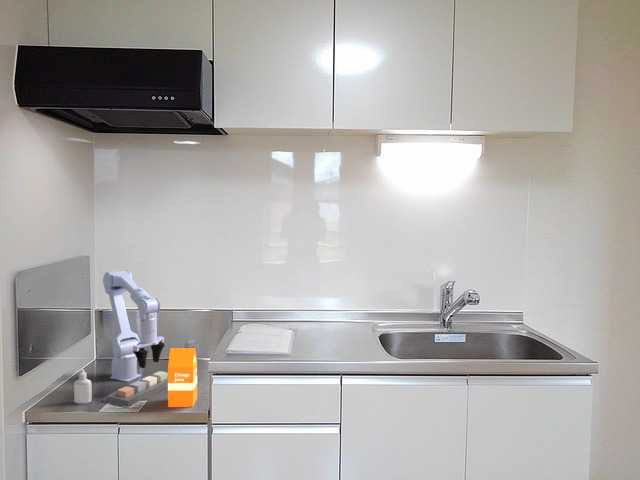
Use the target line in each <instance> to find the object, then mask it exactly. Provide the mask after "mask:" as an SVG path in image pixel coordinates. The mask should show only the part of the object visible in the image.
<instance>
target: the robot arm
mask: <svg viewBox="0 0 640 480" xmlns="http://www.w3.org/2000/svg"><path fill="white" fill-rule="evenodd" d="M134 281H135V280H133V273H132V272H131V271H130V270H129V269H125V270H115V271H106V272H104V274H103V278H102V283H103V287H104V291H105V293H106V294H107V295H108V296H109V302H110V305H111V310H112V315H113V319H114V323H115V328H116V332H117V335H116V336H115V337H114V338H113V339H112V342H111V343H112V354H113V355H114V357H112V361H111V376H110V377H109V378H110V379H113V380H116V381H121V382H127V383H128V382H131V381H133V380H136V379H138V378H140V377H142V374H140V373H138V366H139V368H142V369H145V368H146V365H147V364H146V363H147V355H148V353H149V350H145V348H149V347H150V350H151V352H152V362H153V363H159V361H160V358H161V353H162V351H163V349H164V347H165V343H164V342H165V337H164V336H161V335H159V336H158V334H157V333H158V313H159V311H160V310H161V304H160V300H159V299H158V298H157V297H153V296H152V297H151V295H150V294H149V293H147V291H146V290H145V289H144V288H143V287H138V285H137V284H136V283H135V282H134ZM125 292H128V293H129V296H130V299H131V301H133V302H134V304H135V305H136V306H137V311H138V315H139V319H140V338H139V336H138V334H137V333H136V332H134V331H132V330H131V327H130V326H131V325H130V322H129V318H128V313H127V309H126V304H125V299H124V293H125ZM137 365H138V366H137Z"/></svg>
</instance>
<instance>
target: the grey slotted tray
mask: <svg viewBox="0 0 640 480" xmlns="http://www.w3.org/2000/svg"><path fill="white" fill-rule="evenodd" d="M151 376H152V377H153V374H152V375H151ZM139 381H140V382H142V379H141V380H139ZM127 387H130V385H128V386H127ZM166 388H168V378H167V379H165V380H163V381H157V383H156V384H154V385H152V386H150V387H149V386H146V389H144V390H142V391H140V392H135V391H134V394H133V395H131V396H129V397H127V398H123V397H119V396H117V391H115V392H112V393H110V394H109V395H107V396H106V402H107V403H112V404H115V405H116V404H117V405H120V406H125V407H130V406H132V405H134V404H136V403H138V402H140V401H142V400H143V399H146V398H148V397H150V396H152V395H153V394H156V393H158V392H160V391H162V390H163V389H166Z"/></svg>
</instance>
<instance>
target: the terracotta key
mask: <svg viewBox="0 0 640 480" xmlns="http://www.w3.org/2000/svg"><path fill="white" fill-rule="evenodd" d="M116 392H117V396H119V397H123V398H127V397H129V396H131V395H133V394H134V388H131V387H128V386H125V385H124V386H123V387H122V388H119V389H117V391H116Z"/></svg>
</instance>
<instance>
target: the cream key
mask: <svg viewBox="0 0 640 480" xmlns="http://www.w3.org/2000/svg"><path fill="white" fill-rule="evenodd" d="M141 380H142V382H145V383H146V386H149V387H150V386H152V385H154V384H156V383H157V377H152V375H147V376H146V377H144V378H142V379H141Z"/></svg>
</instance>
